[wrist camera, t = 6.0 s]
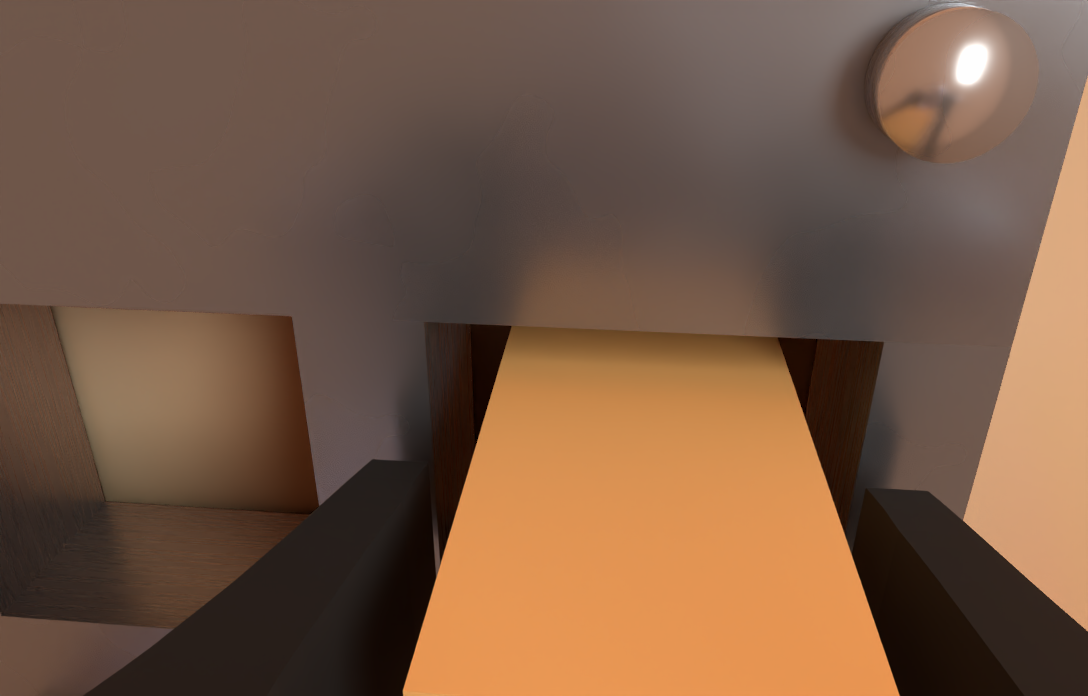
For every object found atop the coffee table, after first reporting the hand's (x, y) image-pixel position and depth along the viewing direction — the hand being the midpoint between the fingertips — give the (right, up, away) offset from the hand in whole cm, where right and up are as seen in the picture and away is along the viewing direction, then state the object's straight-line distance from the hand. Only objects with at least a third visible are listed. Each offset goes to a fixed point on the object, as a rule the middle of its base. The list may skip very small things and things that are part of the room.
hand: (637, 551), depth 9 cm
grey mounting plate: (-3, +1, +3) cm, 4 cm away
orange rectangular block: (0, +1, +3) cm, 3 cm away
